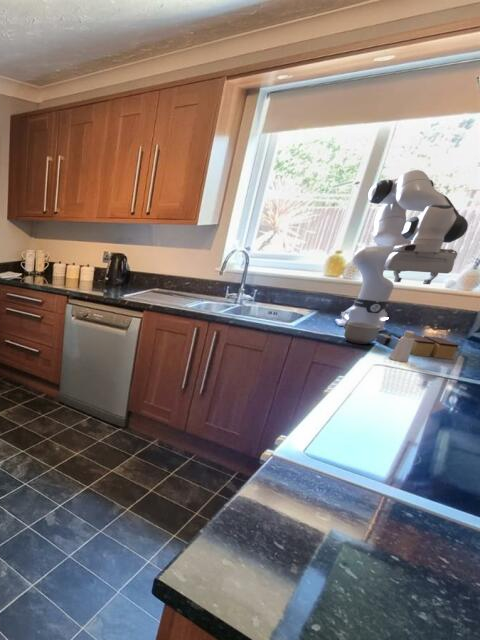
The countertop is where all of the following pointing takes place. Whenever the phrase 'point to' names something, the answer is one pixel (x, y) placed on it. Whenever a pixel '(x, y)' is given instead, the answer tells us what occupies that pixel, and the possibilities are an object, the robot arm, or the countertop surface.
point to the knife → (387, 340)
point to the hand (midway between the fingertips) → (411, 283)
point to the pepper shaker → (403, 347)
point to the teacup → (361, 332)
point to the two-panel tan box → (433, 347)
